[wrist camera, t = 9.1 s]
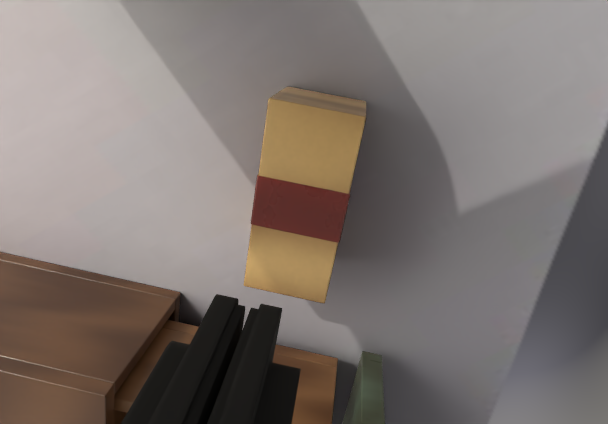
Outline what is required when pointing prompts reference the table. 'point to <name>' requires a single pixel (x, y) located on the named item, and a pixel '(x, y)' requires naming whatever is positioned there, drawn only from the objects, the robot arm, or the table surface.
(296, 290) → the banded wooden block
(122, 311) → the cabinet
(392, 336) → the table surface
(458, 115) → the table surface
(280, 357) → the drawer
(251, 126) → the table surface
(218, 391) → the robot arm
